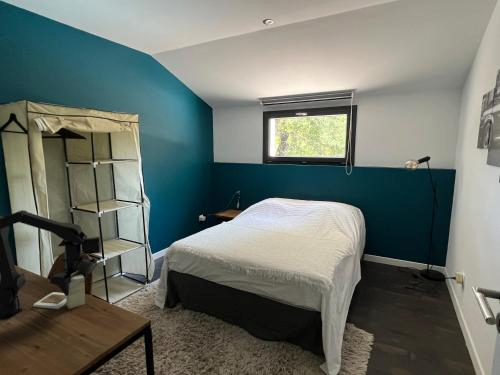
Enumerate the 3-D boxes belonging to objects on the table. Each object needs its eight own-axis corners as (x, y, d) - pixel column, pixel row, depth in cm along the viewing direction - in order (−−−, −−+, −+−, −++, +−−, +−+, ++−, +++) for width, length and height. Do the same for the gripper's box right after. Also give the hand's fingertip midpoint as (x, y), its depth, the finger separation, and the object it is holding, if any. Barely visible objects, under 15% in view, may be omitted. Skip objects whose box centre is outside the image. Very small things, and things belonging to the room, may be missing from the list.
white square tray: (57, 308, 112) (57, 305, 112) (33, 306, 113) (33, 303, 113) (75, 296, 122) (75, 293, 122) (53, 294, 123) (52, 291, 123)
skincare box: (68, 309, 112) (67, 281, 110) (66, 305, 115) (64, 278, 113) (85, 303, 116) (84, 277, 114) (83, 299, 119) (81, 273, 118)
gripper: (74, 265, 103) (76, 303, 105) (105, 248, 121) (106, 281, 123) (47, 263, 103) (50, 301, 106) (82, 246, 122) (83, 279, 124)
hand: (75, 289), depth 114 cm, fingers open, 9 cm apart
